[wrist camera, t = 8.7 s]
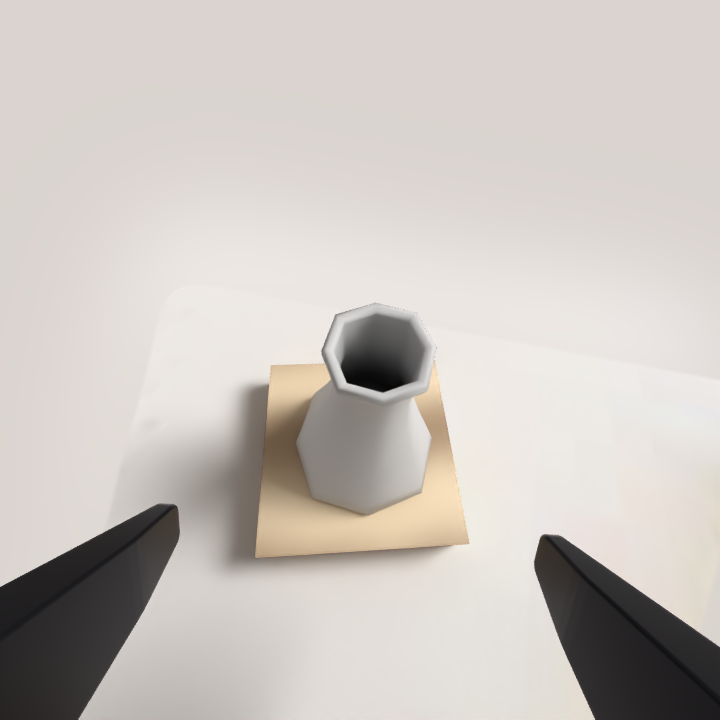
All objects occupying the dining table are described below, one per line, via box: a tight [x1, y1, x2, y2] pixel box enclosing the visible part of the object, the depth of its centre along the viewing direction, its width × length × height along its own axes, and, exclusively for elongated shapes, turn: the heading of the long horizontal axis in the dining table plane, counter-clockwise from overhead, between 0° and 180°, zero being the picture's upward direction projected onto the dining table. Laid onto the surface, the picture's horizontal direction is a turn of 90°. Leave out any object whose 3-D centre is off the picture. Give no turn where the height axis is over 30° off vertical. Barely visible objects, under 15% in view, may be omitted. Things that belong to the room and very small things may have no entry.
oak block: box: [255, 360, 469, 558], centre depth 19 cm, size 10×10×3 cm
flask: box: [296, 303, 437, 515], centre depth 14 cm, size 7×7×10 cm
